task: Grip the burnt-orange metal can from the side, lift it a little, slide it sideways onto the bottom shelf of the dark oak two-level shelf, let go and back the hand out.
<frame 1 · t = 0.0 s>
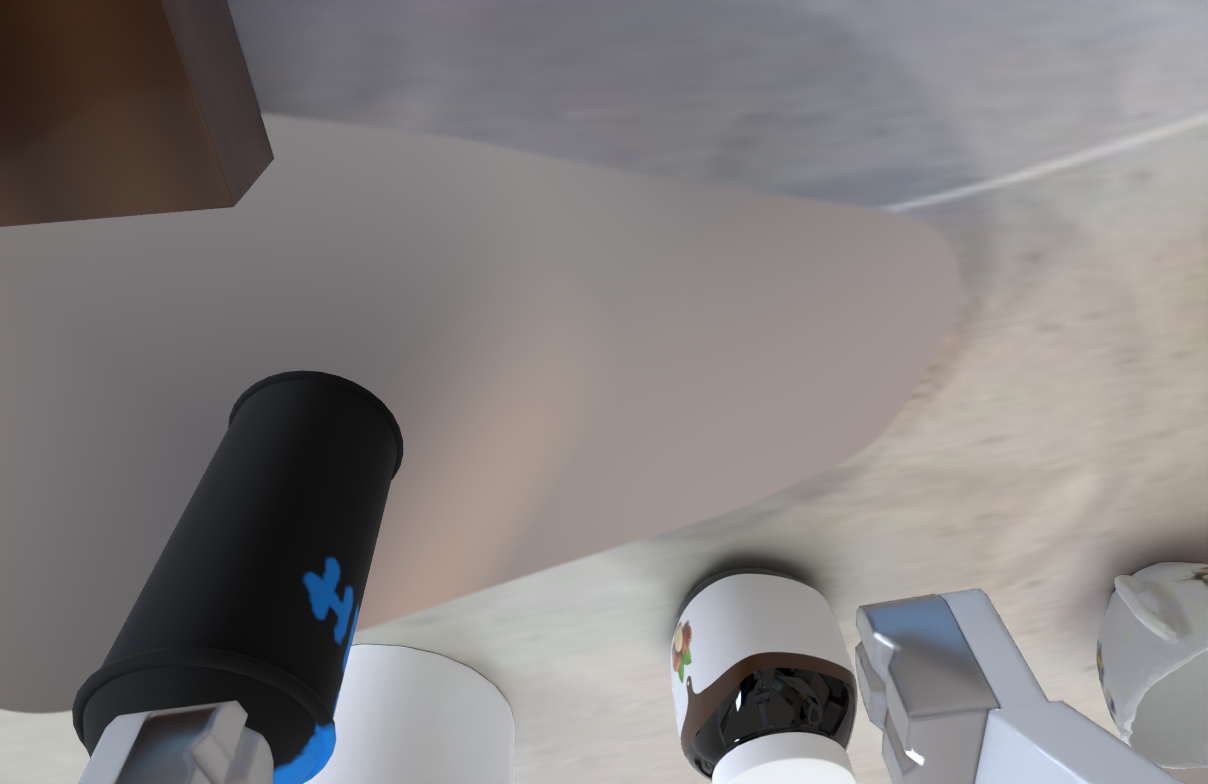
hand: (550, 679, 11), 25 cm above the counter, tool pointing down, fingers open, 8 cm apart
spread jar: (758, 621, 50), on the counter
teacup: (1144, 580, 50), on the counter
cylinder: (383, 726, 54), on the counter
aerosol can: (319, 436, 40), on the counter
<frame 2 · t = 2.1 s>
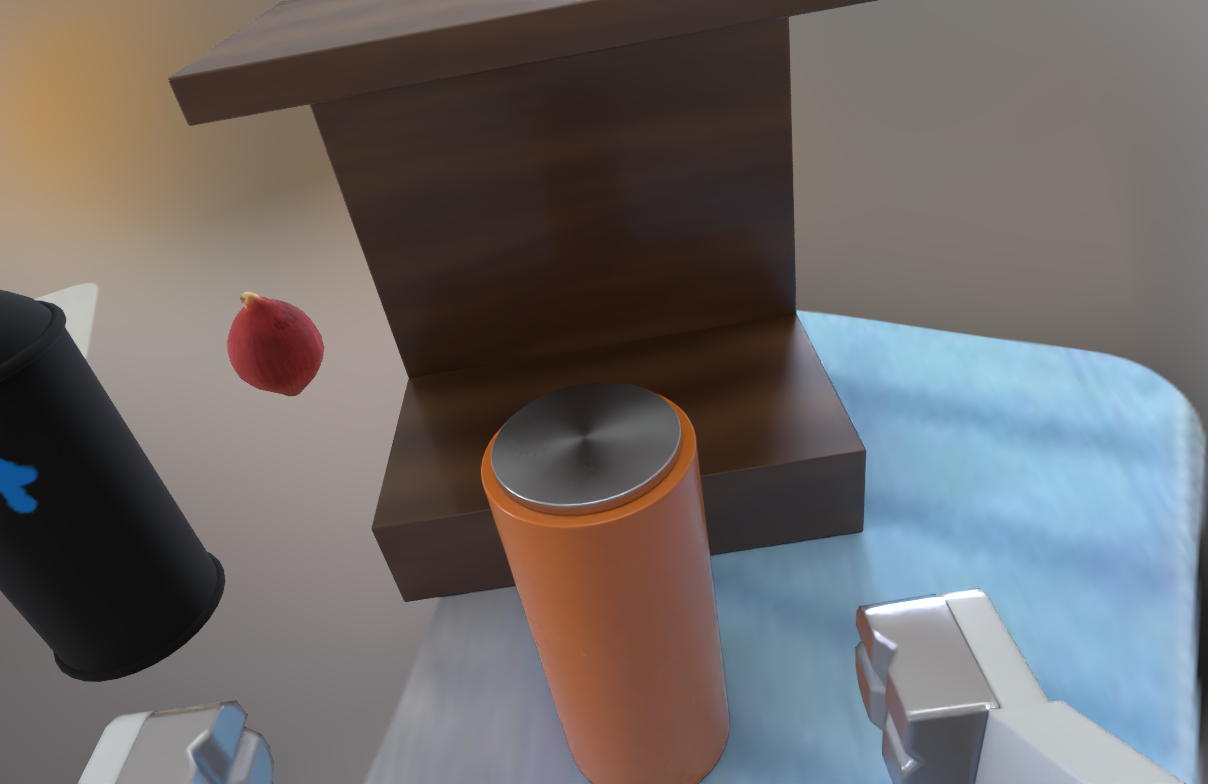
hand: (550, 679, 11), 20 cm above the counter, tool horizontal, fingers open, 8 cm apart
onion: (298, 395, 56), on the counter
shelf: (621, 483, 43), on the counter
can: (647, 720, 32), on the counter
aerosol can: (146, 615, 41), on the counter
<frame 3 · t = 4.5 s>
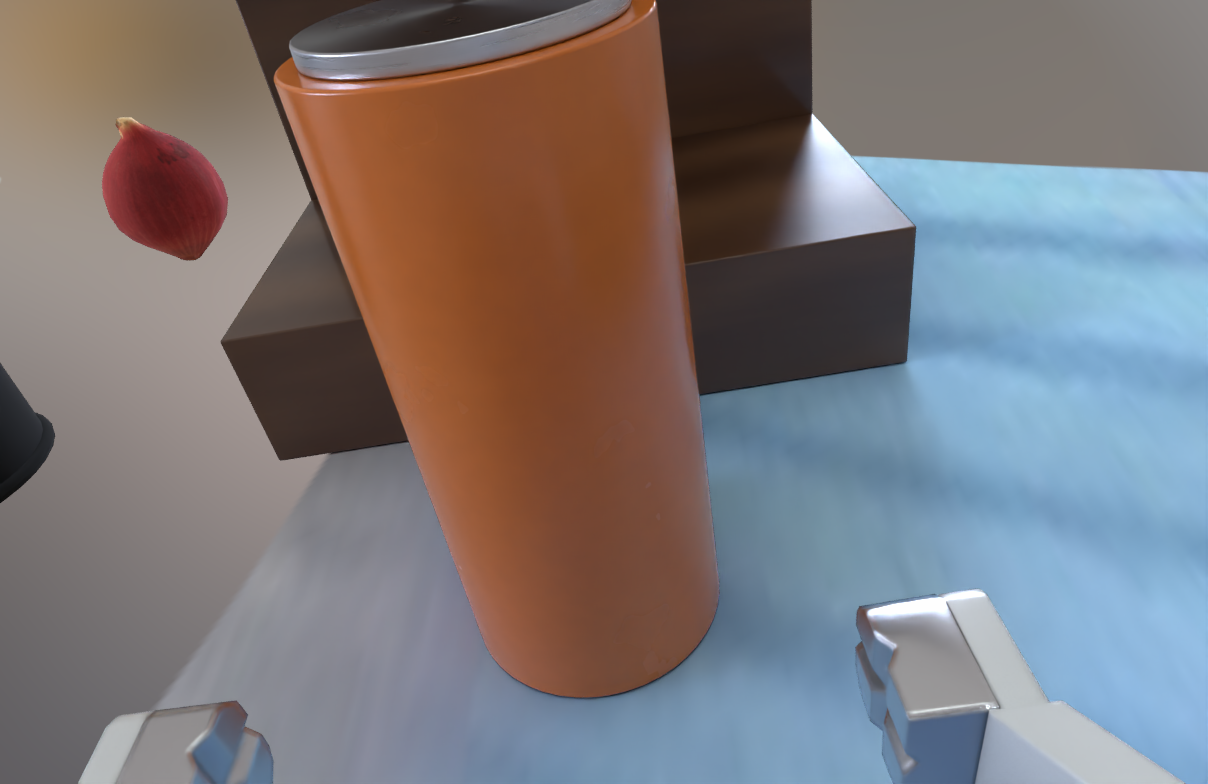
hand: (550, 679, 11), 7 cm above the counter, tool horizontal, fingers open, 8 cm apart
onion: (198, 261, 46), on the counter
shelf: (582, 325, 33), on the counter
can: (598, 591, 22), on the counter
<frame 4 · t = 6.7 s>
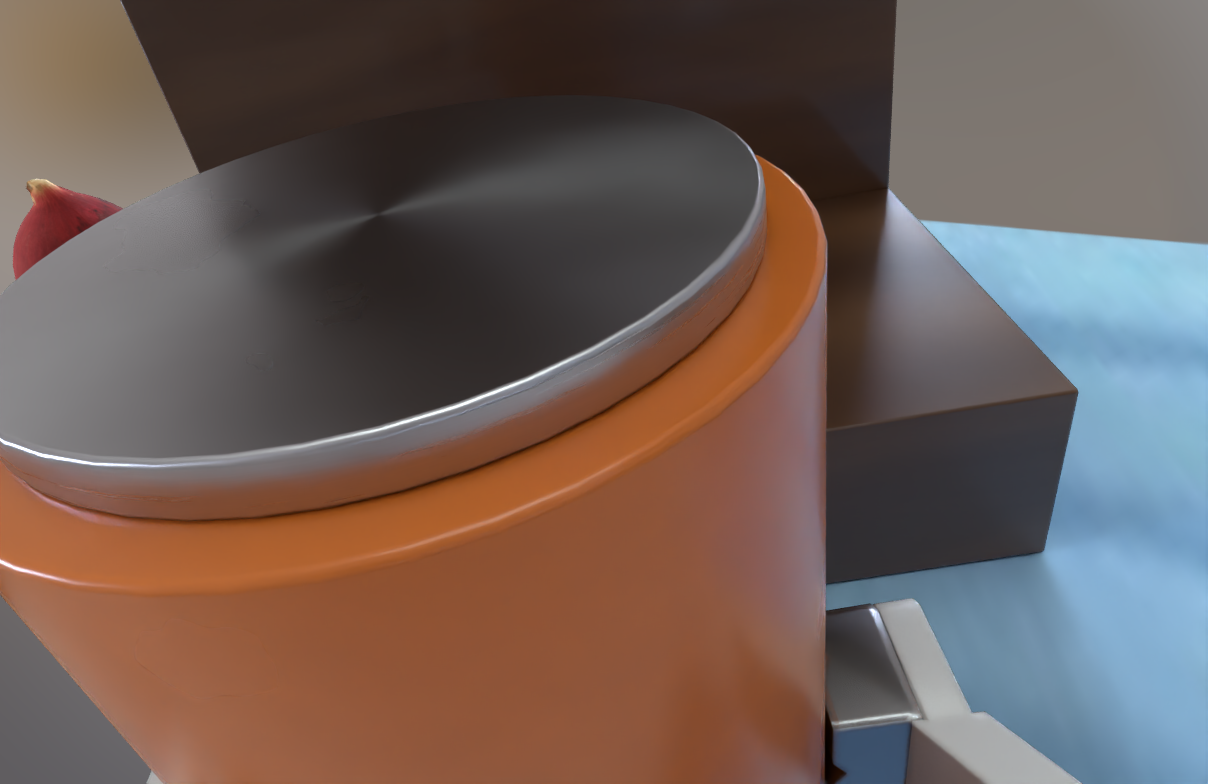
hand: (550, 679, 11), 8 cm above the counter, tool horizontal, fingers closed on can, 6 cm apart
onion: (135, 342, 39), on the counter
shelf: (598, 465, 26), on the counter
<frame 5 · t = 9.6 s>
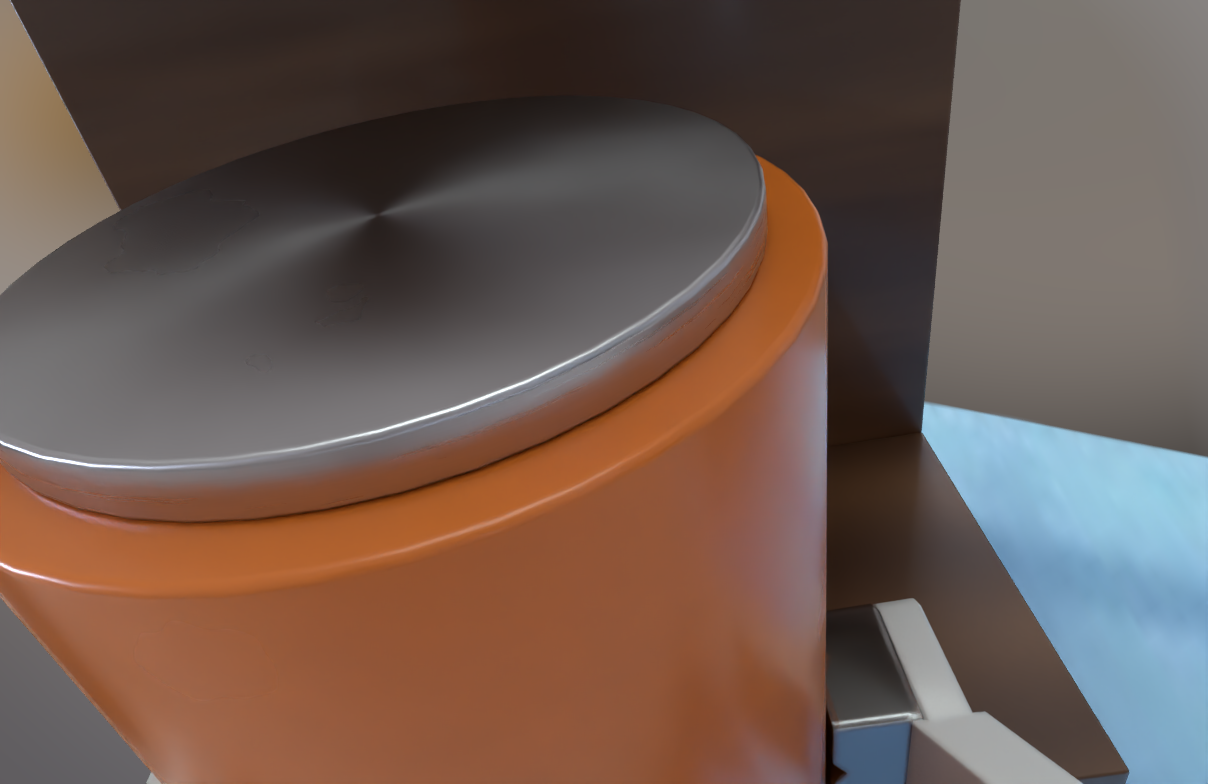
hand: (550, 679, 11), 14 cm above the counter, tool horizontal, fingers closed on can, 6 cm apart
shelf: (632, 723, 26), on the counter
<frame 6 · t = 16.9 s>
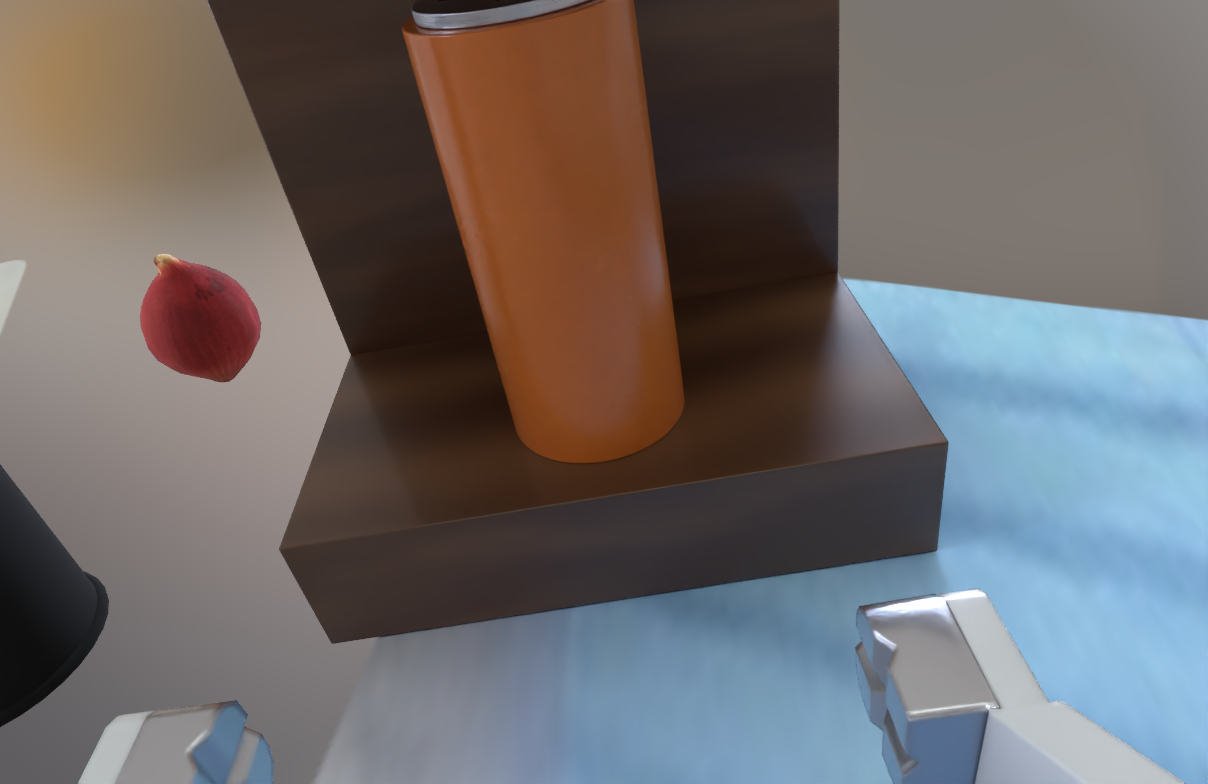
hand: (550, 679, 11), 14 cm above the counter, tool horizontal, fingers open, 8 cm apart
onion: (231, 381, 47), on the counter
shelf: (617, 487, 34), on the counter
can: (599, 407, 30), point 5 cm above the counter, touching shelf
aerosol can: (3, 658, 32), on the counter
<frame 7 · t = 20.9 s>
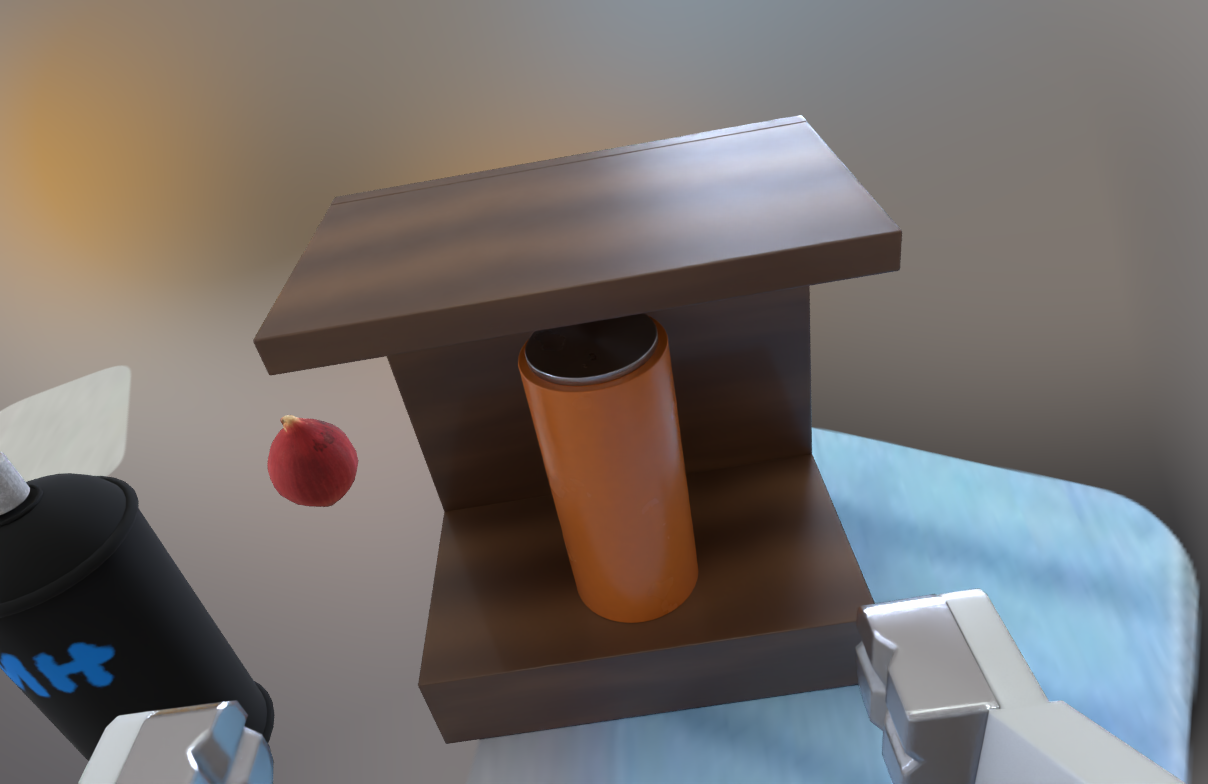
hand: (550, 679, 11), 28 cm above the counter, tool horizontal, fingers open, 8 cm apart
onion: (332, 504, 59), on the counter
shelf: (647, 618, 46), on the counter
can: (636, 573, 42), point 5 cm above the counter, touching shelf
aerosol can: (200, 748, 44), on the counter
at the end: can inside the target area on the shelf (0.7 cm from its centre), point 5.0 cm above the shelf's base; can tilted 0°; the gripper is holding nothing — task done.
